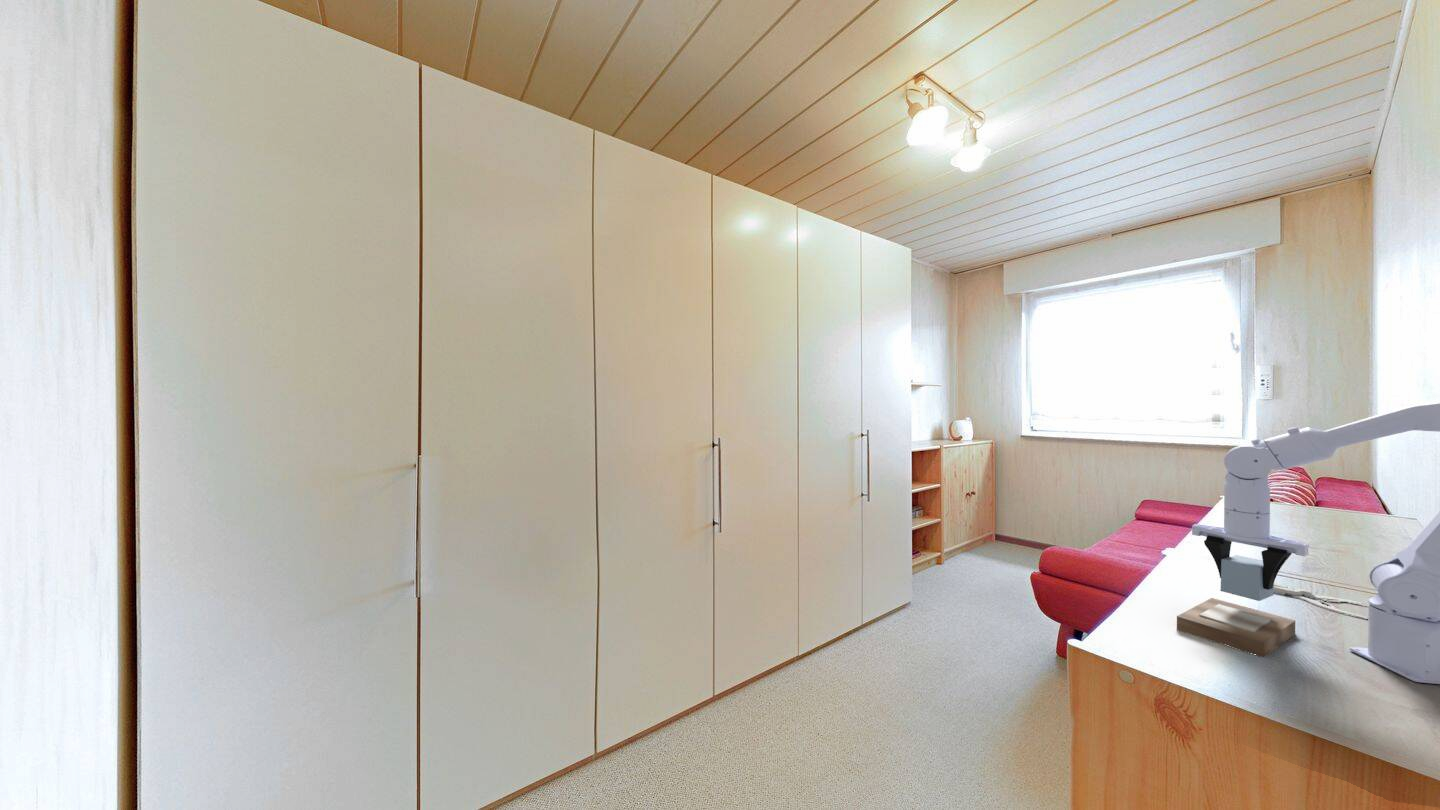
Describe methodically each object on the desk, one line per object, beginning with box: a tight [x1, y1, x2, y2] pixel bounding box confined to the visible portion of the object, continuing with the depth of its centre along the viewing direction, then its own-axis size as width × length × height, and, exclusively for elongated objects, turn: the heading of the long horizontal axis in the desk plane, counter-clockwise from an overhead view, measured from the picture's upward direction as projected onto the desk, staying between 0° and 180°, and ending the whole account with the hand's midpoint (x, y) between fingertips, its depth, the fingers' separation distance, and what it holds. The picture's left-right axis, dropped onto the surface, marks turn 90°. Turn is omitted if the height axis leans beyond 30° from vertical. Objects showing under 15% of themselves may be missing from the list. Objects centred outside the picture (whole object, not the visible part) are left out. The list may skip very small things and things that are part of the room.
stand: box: [1176, 597, 1296, 658], centre depth 88 cm, size 16×11×3 cm
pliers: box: [1274, 582, 1368, 618], centre depth 100 cm, size 10×2×15 cm
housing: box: [1219, 554, 1275, 602], centre depth 89 cm, size 8×5×6 cm, turn 117°
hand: (1245, 582), depth 89 cm, fingers closed on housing, 5 cm apart
